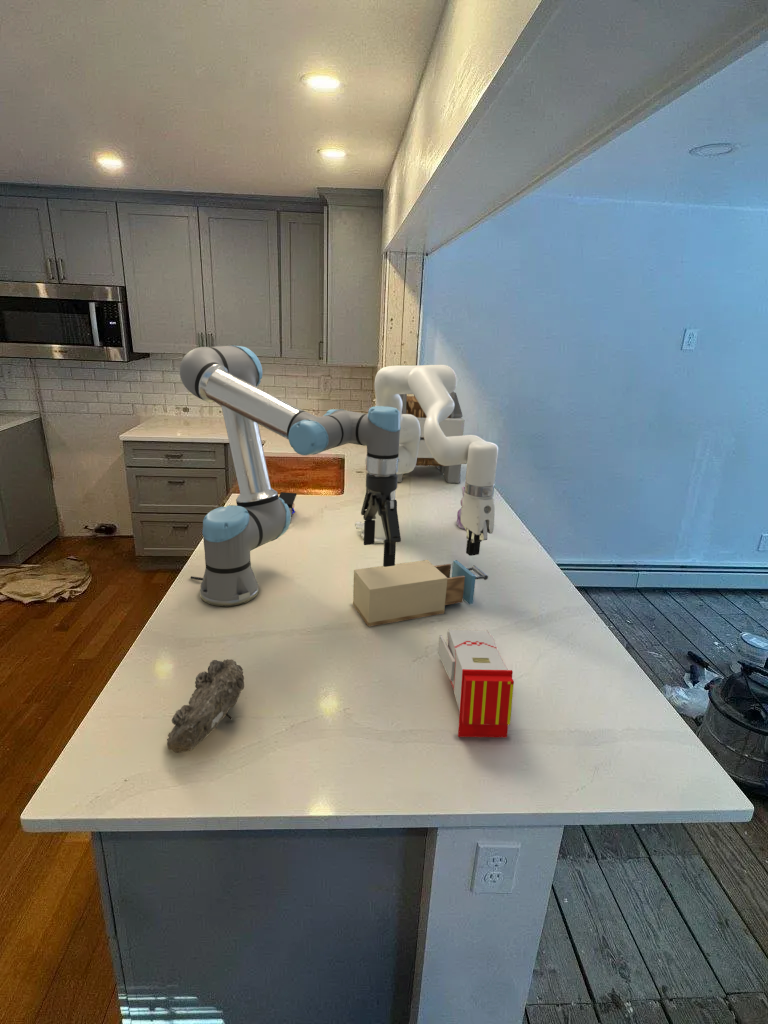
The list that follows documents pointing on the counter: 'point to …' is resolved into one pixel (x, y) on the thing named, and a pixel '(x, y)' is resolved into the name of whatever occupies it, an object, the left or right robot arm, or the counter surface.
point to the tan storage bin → (399, 592)
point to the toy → (478, 682)
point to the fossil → (206, 705)
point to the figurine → (460, 511)
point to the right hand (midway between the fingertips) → (472, 553)
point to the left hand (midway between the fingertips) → (378, 554)
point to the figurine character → (289, 500)
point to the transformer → (448, 426)
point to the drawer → (460, 582)
